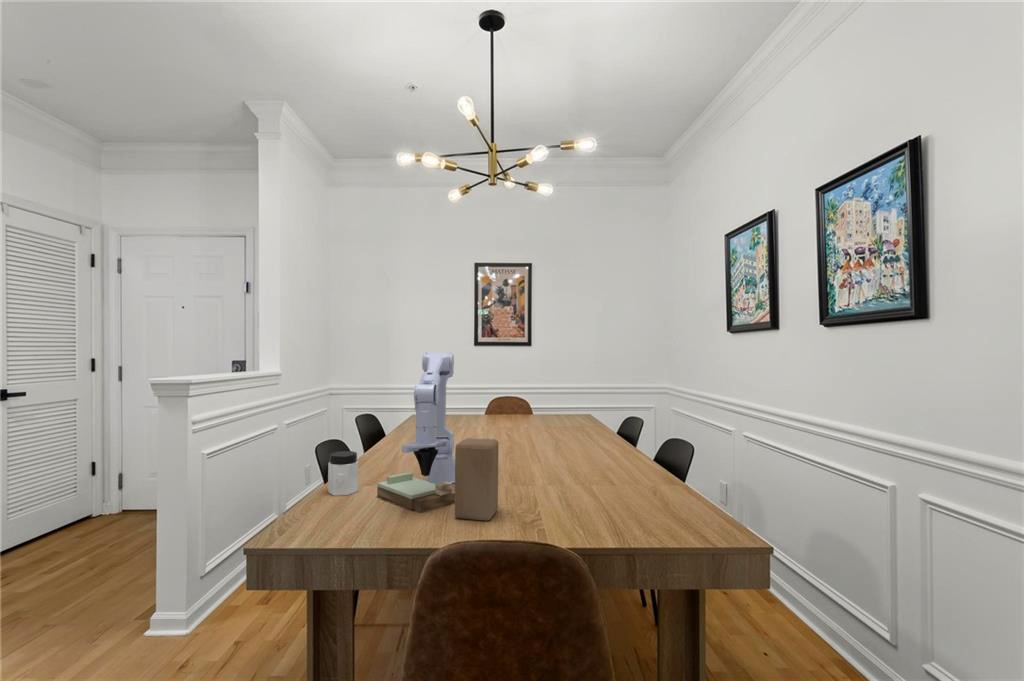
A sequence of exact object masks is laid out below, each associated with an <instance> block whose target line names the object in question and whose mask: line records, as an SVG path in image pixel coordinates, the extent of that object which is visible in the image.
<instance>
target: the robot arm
mask: <svg viewBox="0 0 1024 681" xmlns="http://www.w3.org/2000/svg"><path fill="white" fill-rule="evenodd" d="M454 359H455V358H454V354H453V352H424V353H423V354H422V358H421V360H422V361H421V362H422V363H421V365H422V366H421V367H422V371H423V373H422V375H421V378H420V381H419V383H418V384H417V385H415V386H414V389H413V390H414V391H413V401H414V411H415V441H413V442H411V443H407V444H403V445H401V452H402V453H404V454H410V453H412V452H413V454H414V456H415V458H416V460H417V463H418V465H419V469H420V475H421V476H424V477H427V479H426V480H424V481H427V482H430V483H433V484H438V483H442V482H449V483H452V484H455V455H454V451H455V439H454V432H453V431H452V430H451V429H449V428H448V427H447V426H446V424H447V423H446V420H447V418H446V416H447V382H448V380H449V379H450V378H451V377H454V369H455V368H454V367H455V366H454V364H455V360H454Z"/></svg>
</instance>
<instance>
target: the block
mask: <svg viewBox="0 0 1024 681" xmlns="http://www.w3.org/2000/svg"><path fill="white" fill-rule="evenodd" d="M454 451H455V453H454V454H455V455H454V457H455V483H454V489H455V503H454V516H455V517H454V518H456V519H461V520H476V521H491V519H492V518H493V516H494V515H495V514H496V513H497V511H498V508H499V441H498V440H497V439H495V438H494V439H493V438H492V439H490V438H489V439H488V438H474V437H472V438H471V437H470V438H469V437H468V438H464V439H462V440H461V441H458V443H456V444H455V446H454Z"/></svg>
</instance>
